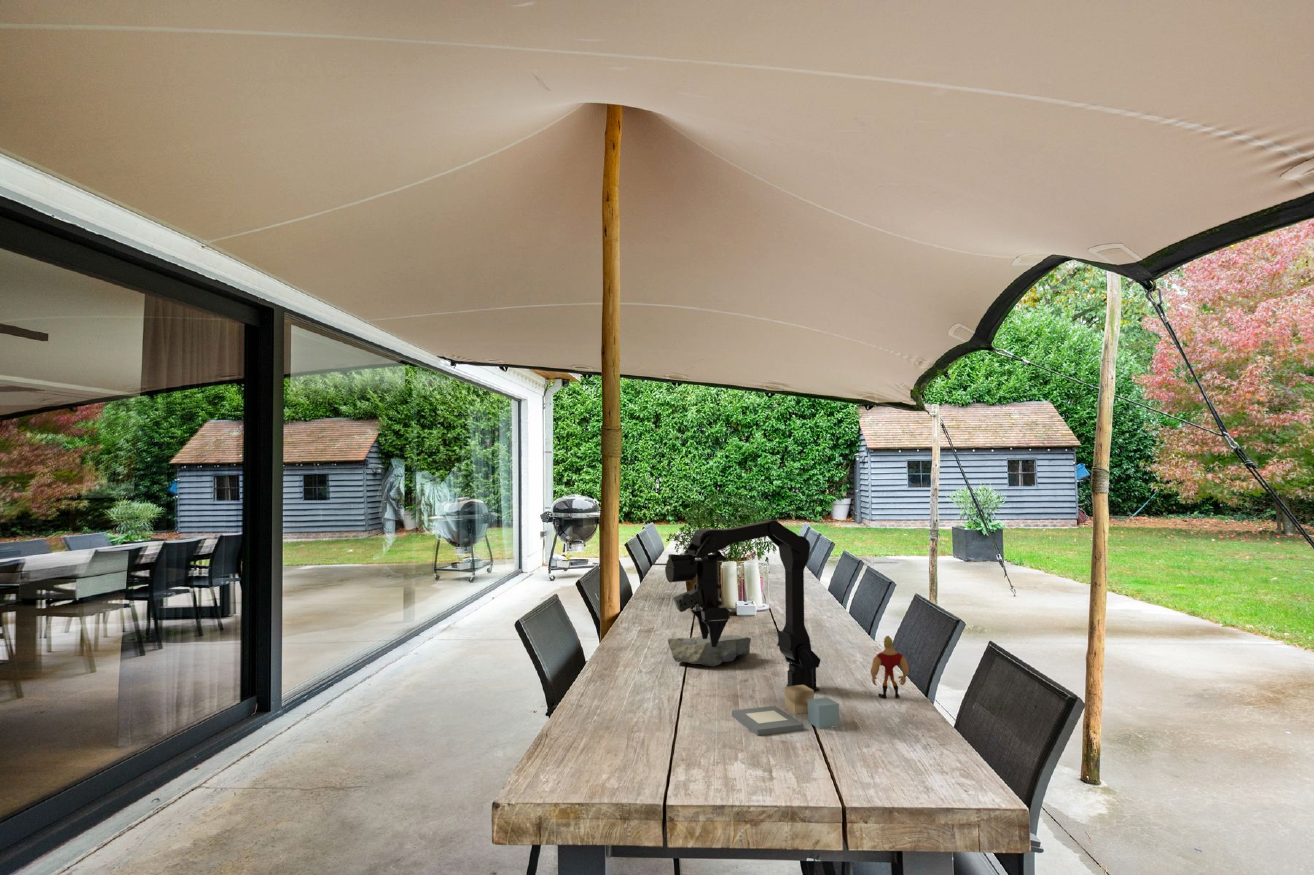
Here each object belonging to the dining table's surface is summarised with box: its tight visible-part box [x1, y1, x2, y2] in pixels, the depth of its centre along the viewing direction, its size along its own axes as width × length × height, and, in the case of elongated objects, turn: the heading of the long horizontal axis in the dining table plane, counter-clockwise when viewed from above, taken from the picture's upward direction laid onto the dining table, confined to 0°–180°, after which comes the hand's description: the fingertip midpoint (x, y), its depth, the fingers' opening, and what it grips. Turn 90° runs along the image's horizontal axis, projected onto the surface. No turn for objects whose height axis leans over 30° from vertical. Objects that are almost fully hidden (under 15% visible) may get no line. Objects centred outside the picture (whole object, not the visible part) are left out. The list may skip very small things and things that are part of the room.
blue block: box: [807, 697, 840, 730], centre depth 164 cm, size 5×5×5 cm
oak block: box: [784, 685, 815, 715], centre depth 174 cm, size 5×5×5 cm
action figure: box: [870, 635, 910, 699], centre depth 184 cm, size 10×4×15 cm, turn 91°
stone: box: [667, 634, 752, 667], centre depth 224 cm, size 24×8×25 cm
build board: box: [731, 705, 805, 736], centre depth 165 cm, size 11×14×1 cm
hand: (709, 642), depth 183 cm, fingers open, 9 cm apart
